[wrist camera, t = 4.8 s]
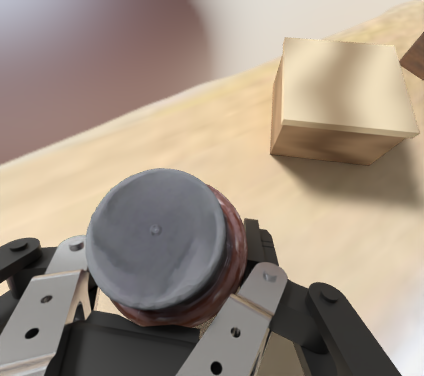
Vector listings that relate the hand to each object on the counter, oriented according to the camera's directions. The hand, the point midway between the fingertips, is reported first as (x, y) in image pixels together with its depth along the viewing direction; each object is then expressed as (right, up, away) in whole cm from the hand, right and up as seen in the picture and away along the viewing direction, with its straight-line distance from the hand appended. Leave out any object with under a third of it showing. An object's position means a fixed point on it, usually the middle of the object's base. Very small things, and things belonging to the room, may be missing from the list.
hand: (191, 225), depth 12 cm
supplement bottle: (0, -4, +4) cm, 5 cm away
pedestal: (+12, +9, +9) cm, 17 cm away
